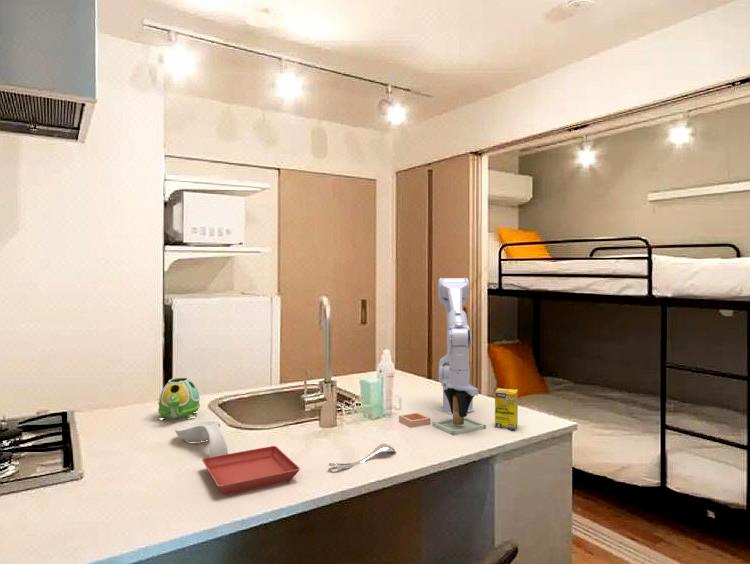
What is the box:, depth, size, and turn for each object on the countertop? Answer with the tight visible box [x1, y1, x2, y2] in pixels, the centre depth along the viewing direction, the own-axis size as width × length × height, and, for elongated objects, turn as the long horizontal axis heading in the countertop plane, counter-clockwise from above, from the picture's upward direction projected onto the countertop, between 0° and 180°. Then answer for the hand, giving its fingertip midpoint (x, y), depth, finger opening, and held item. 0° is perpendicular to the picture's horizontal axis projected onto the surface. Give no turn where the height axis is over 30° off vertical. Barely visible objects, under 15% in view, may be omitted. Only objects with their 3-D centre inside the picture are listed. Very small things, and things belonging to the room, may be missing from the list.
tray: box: [432, 416, 487, 436], centre depth 149 cm, size 12×10×1 cm
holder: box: [398, 412, 431, 428], centre depth 154 cm, size 7×7×2 cm
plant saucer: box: [201, 445, 301, 495], centre depth 116 cm, size 18×18×3 cm
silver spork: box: [328, 443, 397, 470], centre depth 124 cm, size 20×4×5 cm
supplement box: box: [494, 387, 519, 432], centre depth 151 cm, size 6×6×11 cm
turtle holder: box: [157, 377, 201, 419], centre depth 160 cm, size 12×18×12 cm
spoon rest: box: [174, 420, 229, 458], centre depth 136 cm, size 24×12×7 cm, turn 36°
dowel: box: [452, 395, 464, 425], centre depth 149 cm, size 3×3×8 cm
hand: (459, 414), depth 149 cm, fingers closed on dowel, 3 cm apart
